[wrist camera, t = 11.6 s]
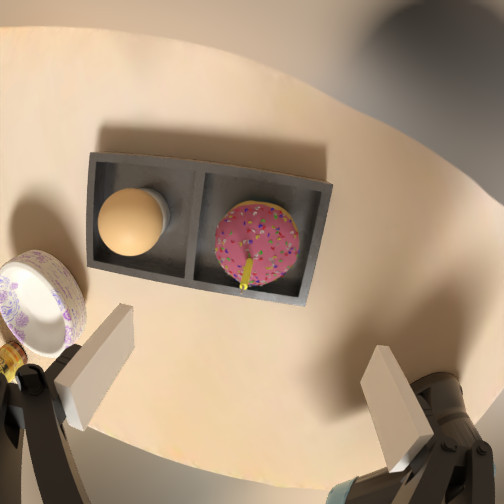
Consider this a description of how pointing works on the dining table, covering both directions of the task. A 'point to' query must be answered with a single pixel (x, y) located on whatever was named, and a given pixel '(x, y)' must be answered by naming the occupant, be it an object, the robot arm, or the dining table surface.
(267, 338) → the dining table surface
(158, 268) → the divided tray
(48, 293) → the paper bowls
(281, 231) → the cupcake
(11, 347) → the sauce bottle
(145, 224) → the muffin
